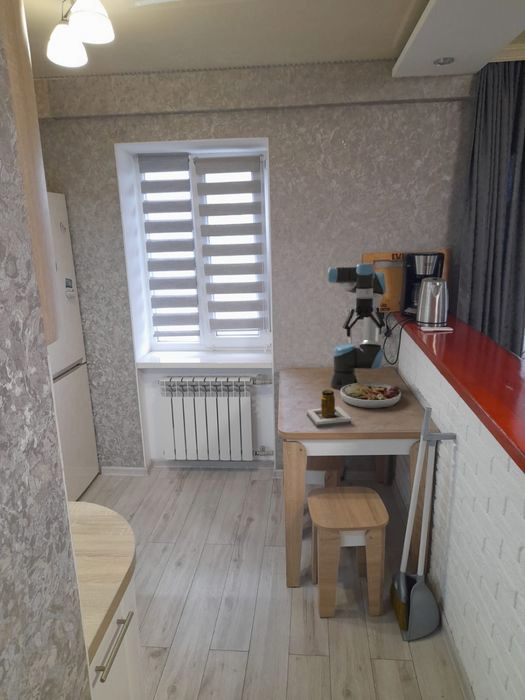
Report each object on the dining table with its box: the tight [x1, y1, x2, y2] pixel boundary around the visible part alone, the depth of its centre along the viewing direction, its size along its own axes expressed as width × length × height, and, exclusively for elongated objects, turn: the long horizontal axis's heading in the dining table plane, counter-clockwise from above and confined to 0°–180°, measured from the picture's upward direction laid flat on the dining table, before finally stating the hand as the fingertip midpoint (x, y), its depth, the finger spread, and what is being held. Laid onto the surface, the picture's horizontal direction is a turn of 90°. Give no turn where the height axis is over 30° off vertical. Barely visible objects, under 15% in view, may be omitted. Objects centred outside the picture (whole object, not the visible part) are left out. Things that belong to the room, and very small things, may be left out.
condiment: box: [319, 389, 341, 419], centre depth 214 cm, size 7×8×12 cm
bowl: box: [340, 382, 402, 409], centre depth 239 cm, size 30×30×8 cm
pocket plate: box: [306, 406, 352, 429], centre depth 215 cm, size 16×16×3 cm
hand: (363, 342), depth 221 cm, fingers open, 13 cm apart
